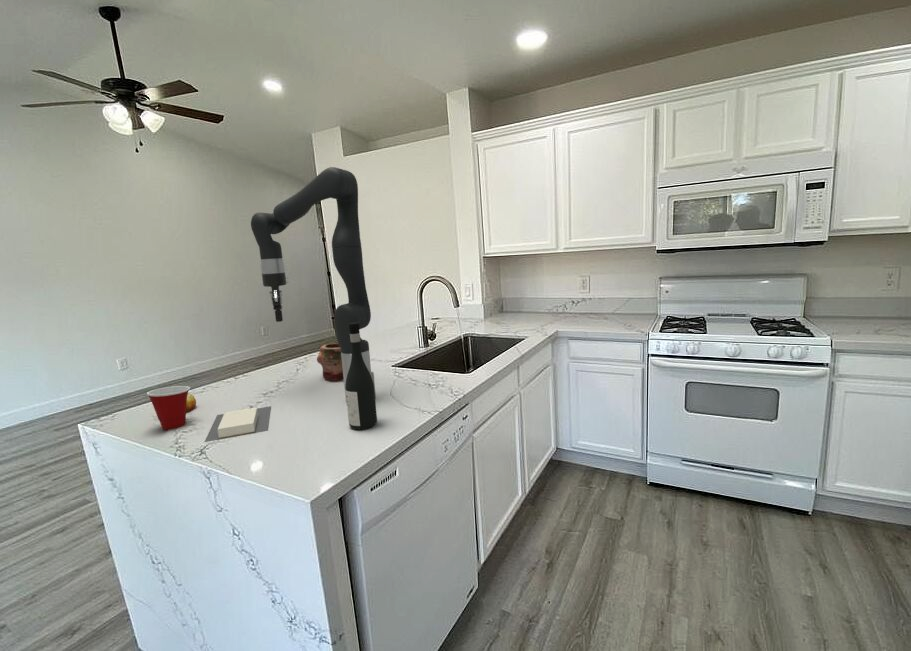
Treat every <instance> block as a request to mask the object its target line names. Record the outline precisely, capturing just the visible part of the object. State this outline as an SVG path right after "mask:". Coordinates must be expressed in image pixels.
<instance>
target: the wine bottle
mask: <svg viewBox="0 0 911 651" xmlns="http://www.w3.org/2000/svg"><path fill="white" fill-rule="evenodd" d="M348 327H349V331H350V341H351V351H352V359H351V364H350V368H349V371H348V374H347V378H346V386H345V388H344V391H345V390H346V397H345V401H346V400H347V403H346V407H347V418H348V425H349V427H350V428H352V429H353V430H360V431H361V430H366V429H367V430H368V429H371V428H372V427H374V426H375V425H377V424H376V423H377V422H378V417H377V416H378V414H377V404H376V399H375V394H376V389H375V390H374V383H375V382H374V383H373V380H372V377H371V375H370V372H369V370H368V369H367V367H366V365H365V363H364V360H363V357H362V353H361V343H360V338H361V334H360V330H361V329H360V325H359V323H358V322H354V323H349V324H348Z"/></svg>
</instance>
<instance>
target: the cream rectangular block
mask: <svg viewBox="0 0 911 651" xmlns="http://www.w3.org/2000/svg"><path fill="white" fill-rule="evenodd" d="M257 408H258V407H251V408H244V409H237V410H231V411H227V412H224V413H223V414H224V415H223V418H222V420H221V422H220V425H219V427H218V436H219V438H225V437H230V438H232V437H231V436H236V435H241V436H243V435H242V434H247V433H253V432H254V431H255V427H256V422H257V417H258V411H257ZM253 434H254V433H253ZM247 435H248V434H247ZM236 437H237V436H236ZM225 439H226V438H225Z"/></svg>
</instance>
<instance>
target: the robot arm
mask: <svg viewBox="0 0 911 651" xmlns="http://www.w3.org/2000/svg"><path fill="white" fill-rule="evenodd" d="M327 199H333V200H336V205H337V206H336V207H337V221H336V225H335V228H334V231H333V234H332V237H331V238H332V239H331V251H332V259H333V265H334V267H335V268H336V271H337V272H338V275H339V276H340V278H341V279H342V281H343V283H344V285H345V288H346V292H347V298H348V302H347V303H343V304H340V305H339V306H337V307H336V309H335V311H334V316H333V320H334V330H335V335H336V340H337V343H338V344H339V346H340V349H341V357H342V368H343V378H344V380H343V386H344V395H345V398H346V390H345V386H346V378H347V374H348V371H349V368H350V364H351V359H352V351H351V341H350V331H349V327H348V324H349V323H354V322H358V323H359V325H360V329H359V330H362V329H365V328H366V327H368V326H369V324H370V323H371V320H372V312H371V308H370V307H371V306H370V301H369V297H368V292H367V287H366V279H365V270H364V263H363V250H362V242H361V234H360V233H361V232H360V220H359V187H358V181H357V178H356V176H355V174H354V173H352V172H351V171H350V170H346V169H342V168H339V167H335V166H333V167H332V166H330V167H327V168H325V169H323V170H322V171H320V172H319V174H318V175H316V176H315V177H314V178H313V179H312V180H311V181H310V182H309V183H308V184H306V185H305V186H304V187H303V188H301V189H300V190H299V191H297V192H295V194H293V195H292V196H290V197H289V198H286V199H285V200H283V201H281V202H280V203H278V204H277V205H276V206H274V207H273V213H270V212H269V213H268V212H256V213H254V214H253V215H252V216H251V221H250V227H251V228H250V229H251V232H252V234H253V236H254V239H255V241H256V243H257V245H258V248H259V249H258V250H259V256H260V269H261V278H262V285H263V287H268V288H269V287H270V288H271V291H269V297H270V300H271V301H270V302H271V305H273V308H272V309H273V311H274V316H275V321H276V323H277V322H278V323H279V322H283V312H282V310H283V290H280V287H281V286H286V285H287V279H286V278H287V277H286V269H285V263H284V259H283V252H282V245H281V243H280V242H279V241H276V240H274V239H273V237H272V235H279V234H280V233H282V232H284V231H285V230H286V229H287V228H288V227H289V226H290V225H291V224H293V223H294V222H296V221H298V220H299V219H302V218H303V217H305V216H306V215H307V214H308V213H309V211H310V210H311V209H312V207H313V206H314V205H316V204H318V203H319V202H322V201H324V200H327ZM360 343H361V353H362V357H363V360H364V363H365V365H366V367H367V369H368V370H369V372H370V375H371V377H372V380H373V383H374V390H375V391H376V387H375V386H376V384H375V383H376V382H375V373H374V371H372V365H371V357H370V356H371V353H370V344H369V342H368V340H366V339H363V338H361V337H360ZM376 395H377V394H376V393H375V400H376V398H377V396H376ZM345 402H346V404H347V400H346V399H345Z"/></svg>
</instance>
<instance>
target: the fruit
mask: <svg viewBox="0 0 911 651" xmlns="http://www.w3.org/2000/svg"><path fill="white" fill-rule="evenodd" d="M196 406H197V400H196V398H195V396H194V395H193V394H192V393H189V392H188V395H187V407H186V414H187V413H188V412H190V411H193V410H194V408H196Z"/></svg>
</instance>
